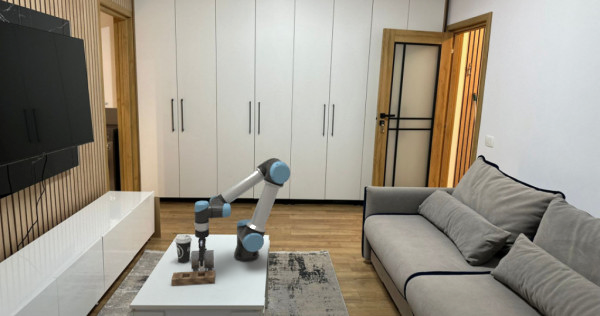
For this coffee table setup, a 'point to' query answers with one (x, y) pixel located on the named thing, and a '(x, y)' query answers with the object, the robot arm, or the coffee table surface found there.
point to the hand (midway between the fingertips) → (202, 266)
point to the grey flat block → (207, 260)
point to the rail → (193, 278)
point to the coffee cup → (183, 248)
